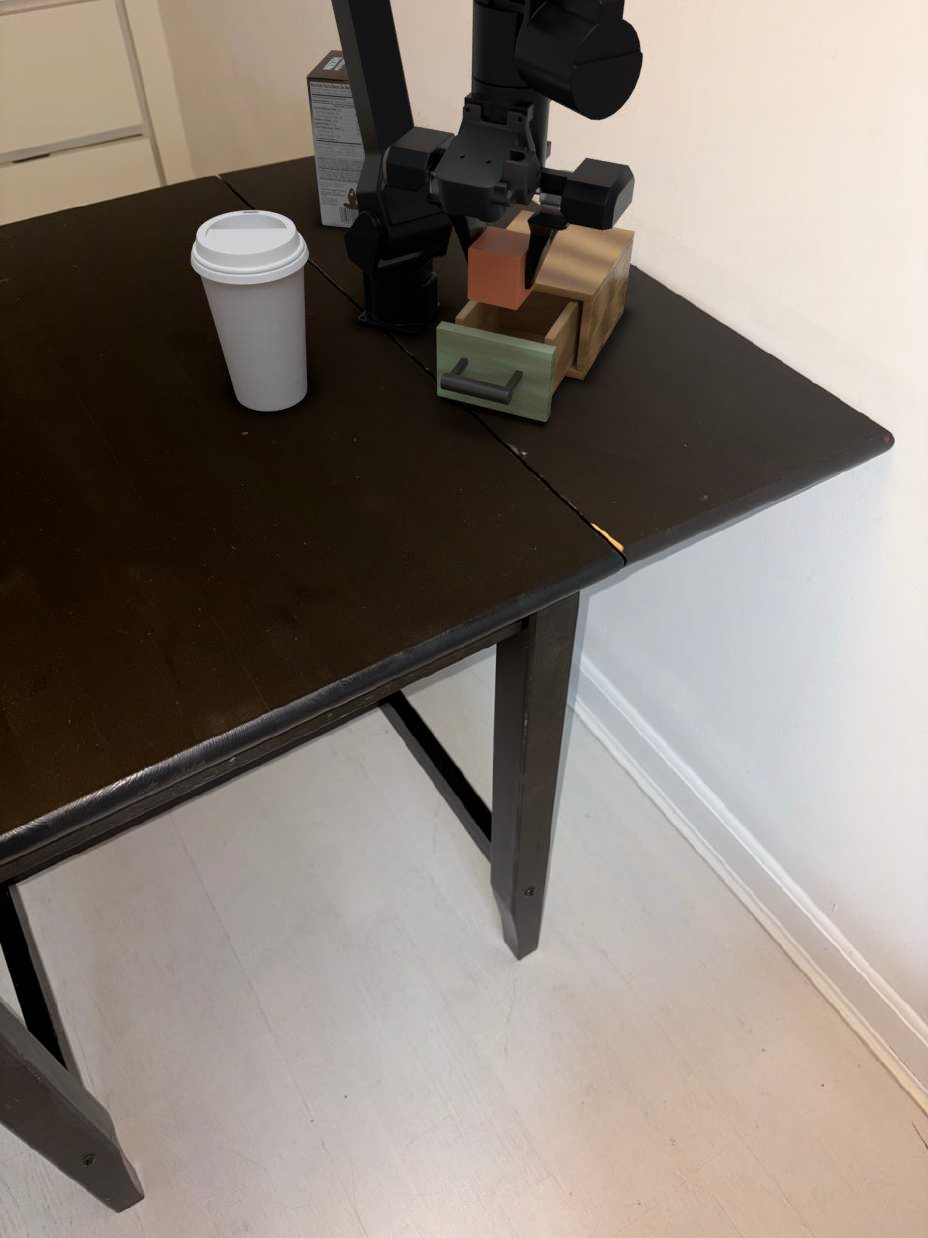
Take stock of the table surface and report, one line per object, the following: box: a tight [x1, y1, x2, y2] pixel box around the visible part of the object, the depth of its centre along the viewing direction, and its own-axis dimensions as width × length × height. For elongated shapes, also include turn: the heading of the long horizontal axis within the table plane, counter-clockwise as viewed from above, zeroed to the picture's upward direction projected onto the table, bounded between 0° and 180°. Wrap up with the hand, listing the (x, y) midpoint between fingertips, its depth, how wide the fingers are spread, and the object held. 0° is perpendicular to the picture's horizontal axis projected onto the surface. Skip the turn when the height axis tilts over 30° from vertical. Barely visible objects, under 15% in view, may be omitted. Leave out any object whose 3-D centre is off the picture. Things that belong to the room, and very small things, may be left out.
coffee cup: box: [190, 209, 310, 412], centre depth 82 cm, size 10×10×15 cm
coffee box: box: [305, 49, 365, 229], centre depth 108 cm, size 9×6×16 cm
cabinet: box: [505, 209, 635, 381], centre depth 92 cm, size 14×12×9 cm
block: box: [467, 225, 536, 310], centre depth 78 cm, size 4×4×4 cm
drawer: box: [435, 290, 584, 423], centre depth 85 cm, size 17×10×7 cm, turn 157°
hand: (502, 281), depth 79 cm, fingers closed on block, 4 cm apart
